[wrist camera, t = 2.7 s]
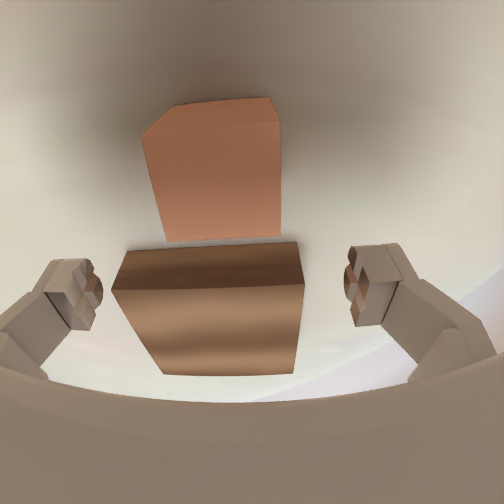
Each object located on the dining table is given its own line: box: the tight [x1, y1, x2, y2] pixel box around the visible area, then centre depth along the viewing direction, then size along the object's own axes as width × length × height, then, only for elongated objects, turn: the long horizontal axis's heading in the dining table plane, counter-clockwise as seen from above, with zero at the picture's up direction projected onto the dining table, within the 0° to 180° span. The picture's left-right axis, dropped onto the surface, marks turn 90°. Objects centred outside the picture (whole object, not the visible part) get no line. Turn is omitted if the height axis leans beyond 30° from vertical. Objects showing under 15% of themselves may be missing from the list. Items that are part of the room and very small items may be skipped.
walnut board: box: [111, 242, 305, 376], centre depth 22 cm, size 12×12×4 cm
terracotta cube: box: [141, 97, 281, 242], centre depth 13 cm, size 5×5×5 cm
